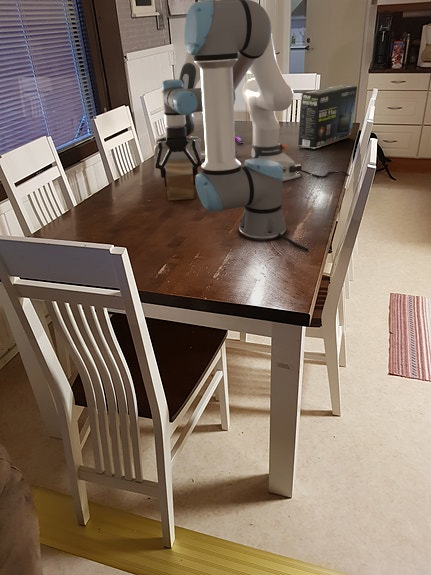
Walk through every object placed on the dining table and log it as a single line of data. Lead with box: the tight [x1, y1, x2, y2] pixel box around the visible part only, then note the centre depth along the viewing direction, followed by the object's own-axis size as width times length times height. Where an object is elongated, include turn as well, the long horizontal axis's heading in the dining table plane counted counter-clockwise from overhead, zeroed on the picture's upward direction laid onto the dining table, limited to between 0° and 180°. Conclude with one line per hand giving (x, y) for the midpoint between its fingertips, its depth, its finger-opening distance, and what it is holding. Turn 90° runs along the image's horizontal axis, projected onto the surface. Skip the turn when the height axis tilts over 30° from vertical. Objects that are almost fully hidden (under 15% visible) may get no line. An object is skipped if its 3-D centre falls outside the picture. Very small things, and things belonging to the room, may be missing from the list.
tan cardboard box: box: [165, 159, 196, 201], centre depth 185 cm, size 21×10×10 cm, turn 5°
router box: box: [297, 84, 358, 151], centre depth 238 cm, size 36×11×27 cm, turn 134°
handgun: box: [235, 136, 244, 146], centre depth 255 cm, size 21×8×2 cm, turn 11°
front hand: (180, 184), depth 179 cm, fingers closed on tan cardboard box, 10 cm apart
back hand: (178, 170), depth 199 cm, fingers closed
